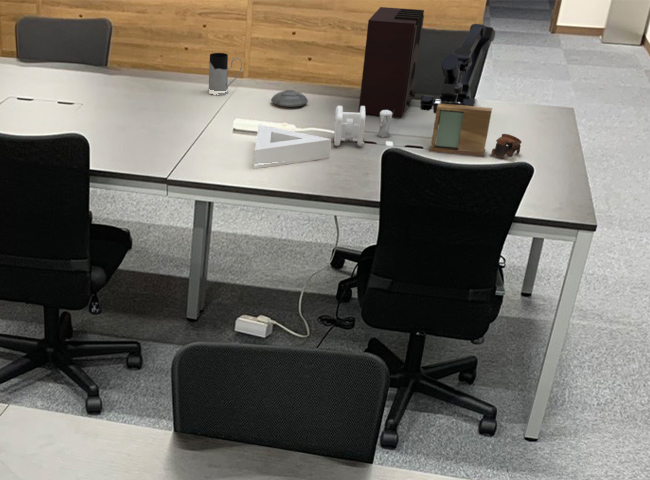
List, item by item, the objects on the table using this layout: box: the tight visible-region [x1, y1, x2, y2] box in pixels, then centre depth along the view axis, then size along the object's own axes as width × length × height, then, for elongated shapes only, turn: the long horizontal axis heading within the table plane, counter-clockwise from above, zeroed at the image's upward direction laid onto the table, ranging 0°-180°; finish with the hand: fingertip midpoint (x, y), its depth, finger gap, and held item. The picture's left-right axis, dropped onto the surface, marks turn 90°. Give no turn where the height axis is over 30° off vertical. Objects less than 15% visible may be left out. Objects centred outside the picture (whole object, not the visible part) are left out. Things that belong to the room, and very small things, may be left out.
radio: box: [357, 6, 425, 119], centre depth 382 cm, size 19×27×35 cm
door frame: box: [429, 103, 493, 158], centre depth 344 cm, size 5×19×16 cm, turn 71°
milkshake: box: [378, 110, 394, 138], centre depth 360 cm, size 4×5×10 cm
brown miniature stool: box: [490, 133, 522, 160], centre depth 343 cm, size 12×10×8 cm
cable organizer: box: [333, 105, 366, 148], centre depth 353 cm, size 15×11×12 cm
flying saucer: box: [270, 89, 309, 108], centre depth 395 cm, size 15×15×6 cm
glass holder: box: [208, 52, 243, 96], centre depth 406 cm, size 9×14×15 cm, turn 96°
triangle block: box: [253, 124, 332, 170], centre depth 346 cm, size 30×26×6 cm
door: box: [436, 110, 464, 148], centre depth 346 cm, size 7×9×12 cm
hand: (442, 126), depth 349 cm, fingers closed on door, 2 cm apart
